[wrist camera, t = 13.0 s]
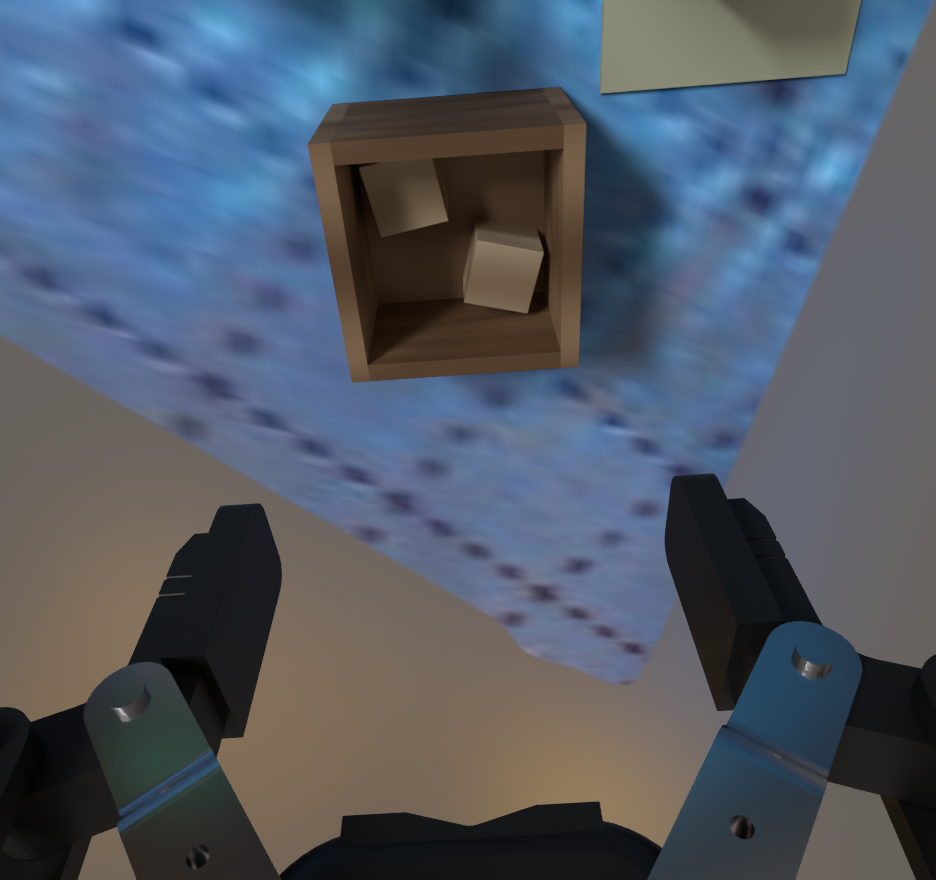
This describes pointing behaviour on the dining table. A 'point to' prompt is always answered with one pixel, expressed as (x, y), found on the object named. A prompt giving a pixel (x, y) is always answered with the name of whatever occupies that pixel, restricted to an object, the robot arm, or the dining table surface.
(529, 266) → the maple block
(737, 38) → the lid
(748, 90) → the dining table surface
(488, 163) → the box
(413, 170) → the maple block
